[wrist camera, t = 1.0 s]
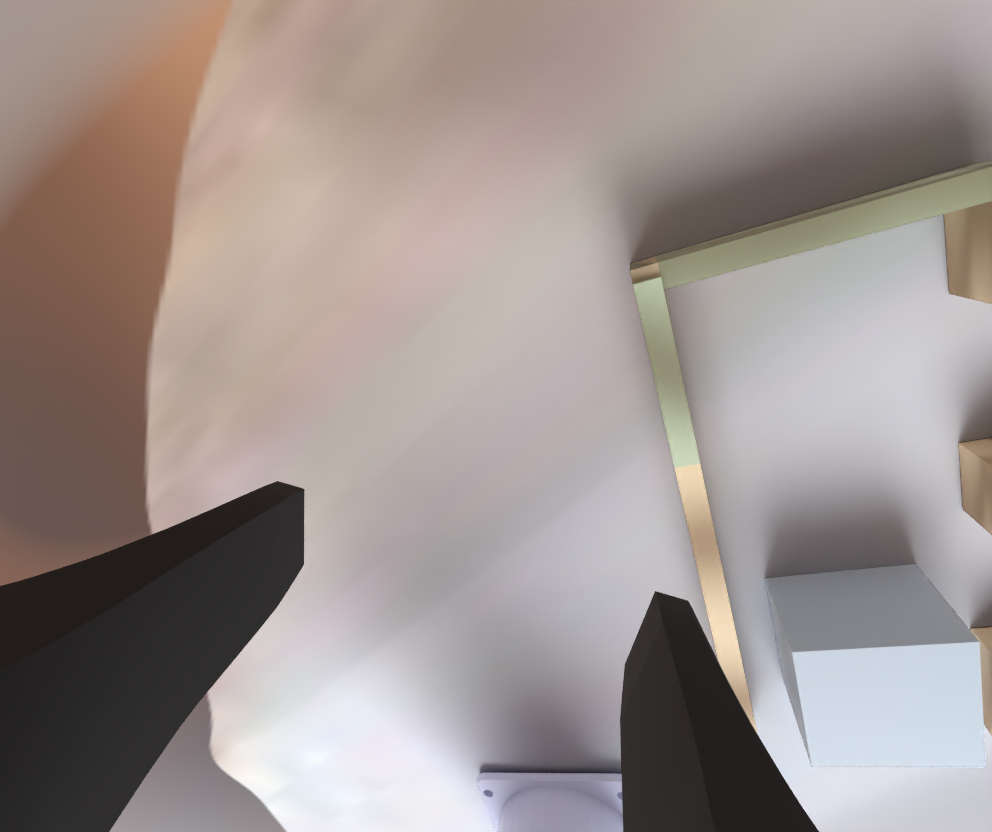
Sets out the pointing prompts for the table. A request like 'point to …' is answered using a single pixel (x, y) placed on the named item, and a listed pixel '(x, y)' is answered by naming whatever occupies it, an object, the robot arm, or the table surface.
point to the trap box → (957, 194)
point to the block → (878, 669)
